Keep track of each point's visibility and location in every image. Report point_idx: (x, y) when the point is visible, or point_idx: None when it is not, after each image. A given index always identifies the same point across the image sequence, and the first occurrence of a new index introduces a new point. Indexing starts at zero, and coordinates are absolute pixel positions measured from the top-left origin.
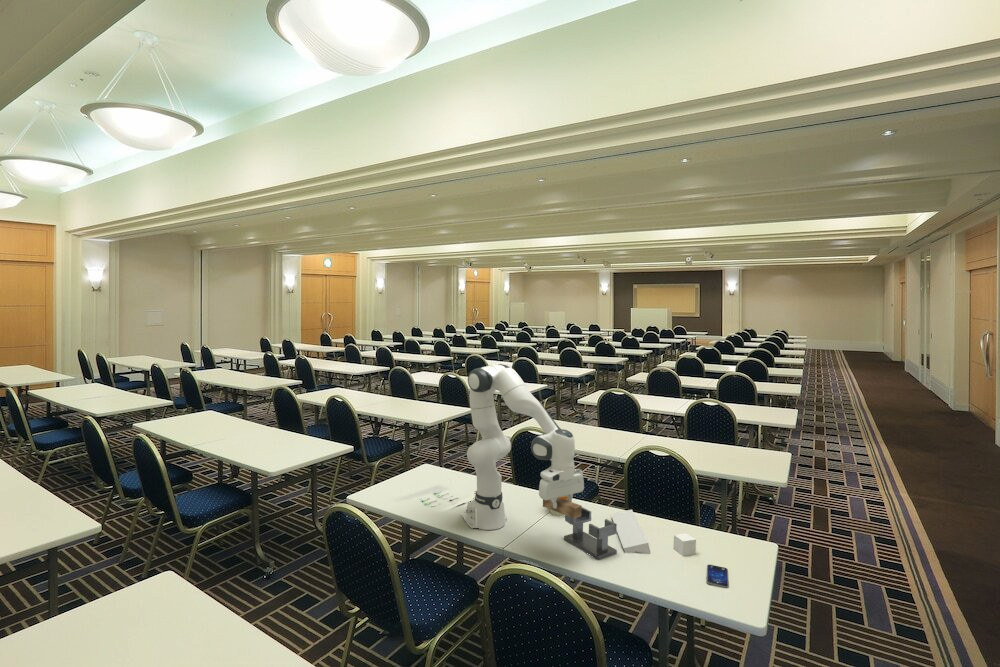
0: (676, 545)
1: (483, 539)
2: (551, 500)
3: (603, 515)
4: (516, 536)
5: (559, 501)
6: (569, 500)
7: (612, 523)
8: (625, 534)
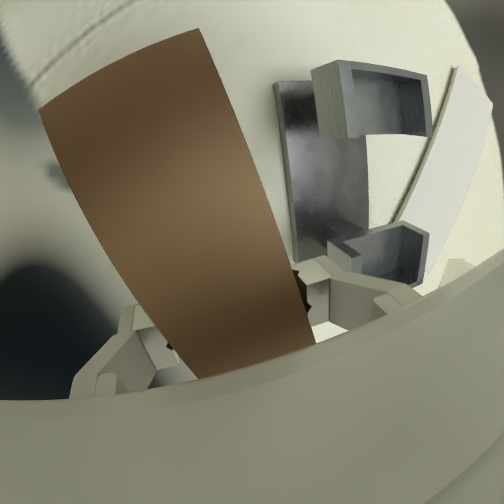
0: (453, 273)
1: (9, 27)
2: (89, 366)
3: (444, 45)
4: (111, 9)
5: (207, 344)
6: (336, 324)
7: (417, 275)
8: (432, 186)
